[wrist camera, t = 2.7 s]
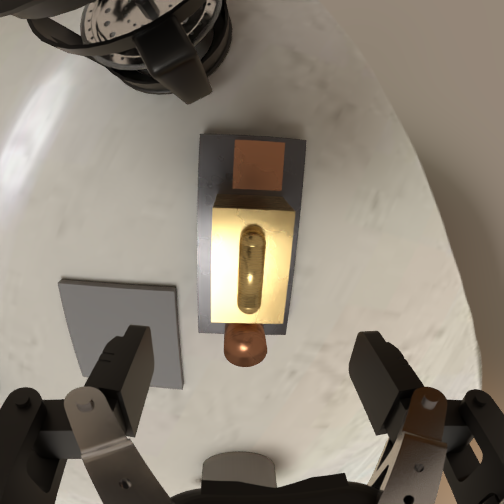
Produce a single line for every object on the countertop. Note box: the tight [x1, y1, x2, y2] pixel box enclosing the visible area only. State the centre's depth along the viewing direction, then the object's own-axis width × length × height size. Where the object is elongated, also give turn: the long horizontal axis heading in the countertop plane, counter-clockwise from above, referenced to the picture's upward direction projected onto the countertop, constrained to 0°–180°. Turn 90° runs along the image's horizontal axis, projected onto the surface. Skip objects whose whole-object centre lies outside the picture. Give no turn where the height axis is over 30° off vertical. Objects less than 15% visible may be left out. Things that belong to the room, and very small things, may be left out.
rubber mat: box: [58, 279, 184, 390], centre depth 26 cm, size 11×11×1 cm
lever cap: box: [211, 194, 295, 324], centre depth 19 cm, size 7×4×6 cm, turn 177°
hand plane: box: [197, 134, 306, 367], centre depth 20 cm, size 15×7×8 cm, turn 177°
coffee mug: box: [202, 452, 277, 488], centre depth 30 cm, size 13×10×10 cm
